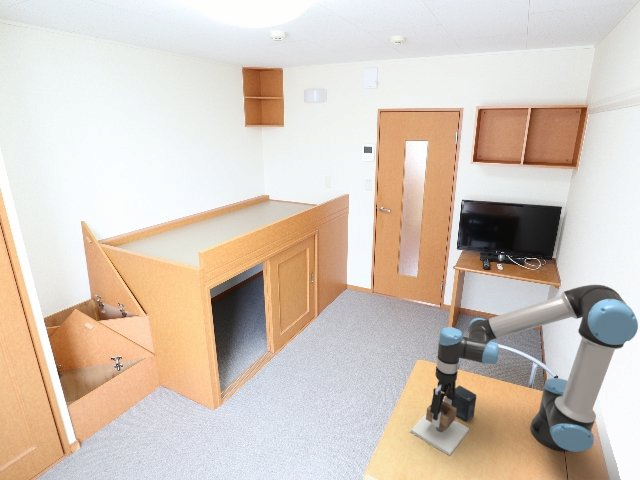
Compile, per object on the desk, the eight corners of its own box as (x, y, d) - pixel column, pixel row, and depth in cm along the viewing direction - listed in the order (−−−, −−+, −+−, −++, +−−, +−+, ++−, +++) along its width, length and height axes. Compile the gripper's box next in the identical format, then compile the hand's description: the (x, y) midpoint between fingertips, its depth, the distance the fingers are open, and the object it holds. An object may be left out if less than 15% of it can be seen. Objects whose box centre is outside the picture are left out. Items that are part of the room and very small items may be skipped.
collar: (455, 419, 147) (456, 408, 146) (445, 430, 142) (446, 419, 140) (435, 408, 153) (437, 398, 151) (425, 419, 147) (427, 408, 146)
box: (473, 416, 157) (477, 394, 153) (466, 422, 153) (469, 401, 150) (456, 405, 162) (459, 384, 159) (449, 411, 159) (451, 390, 156)
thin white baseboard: (468, 430, 149) (471, 413, 147) (449, 456, 138) (452, 437, 136) (431, 410, 160) (432, 393, 157) (410, 432, 149) (412, 414, 146)
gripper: (450, 352, 150) (444, 400, 157) (423, 377, 135) (418, 428, 142) (469, 360, 145) (462, 409, 152) (443, 386, 130) (436, 440, 137)
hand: (441, 418), depth 147 cm, fingers closed on collar, 8 cm apart
